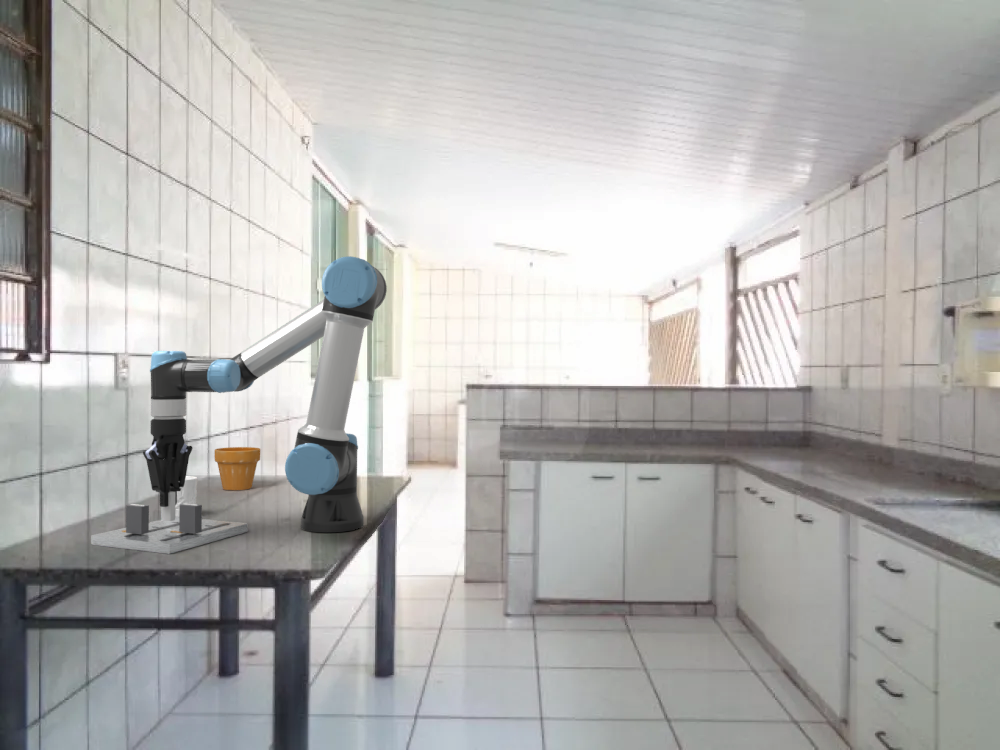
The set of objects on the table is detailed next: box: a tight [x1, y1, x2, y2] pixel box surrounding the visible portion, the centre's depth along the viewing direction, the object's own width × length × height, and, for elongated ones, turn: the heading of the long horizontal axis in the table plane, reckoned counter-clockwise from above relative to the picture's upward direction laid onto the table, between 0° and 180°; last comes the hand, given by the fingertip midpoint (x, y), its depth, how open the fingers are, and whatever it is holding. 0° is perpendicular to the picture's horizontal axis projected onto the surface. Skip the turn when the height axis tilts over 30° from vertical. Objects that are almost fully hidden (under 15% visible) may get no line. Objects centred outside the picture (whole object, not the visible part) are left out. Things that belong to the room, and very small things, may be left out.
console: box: [90, 516, 249, 555], centre depth 169 cm, size 22×24×2 cm
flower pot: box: [214, 446, 262, 491], centre depth 243 cm, size 14×14×13 cm
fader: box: [179, 503, 203, 534], centre depth 165 cm, size 4×2×6 cm, turn 69°
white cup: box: [175, 475, 198, 517], centre depth 195 cm, size 8×8×10 cm
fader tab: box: [125, 503, 150, 534], centre depth 163 cm, size 4×2×6 cm, turn 69°
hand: (168, 520), depth 171 cm, fingers closed
